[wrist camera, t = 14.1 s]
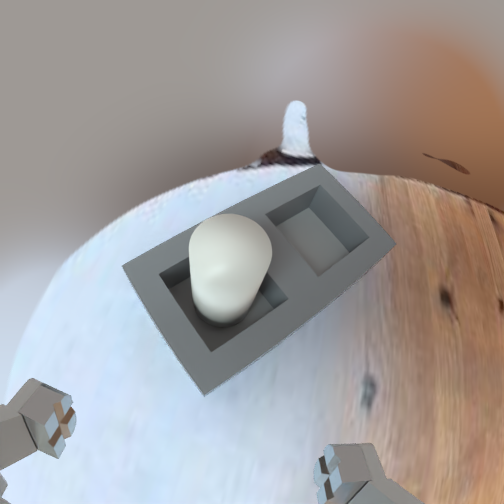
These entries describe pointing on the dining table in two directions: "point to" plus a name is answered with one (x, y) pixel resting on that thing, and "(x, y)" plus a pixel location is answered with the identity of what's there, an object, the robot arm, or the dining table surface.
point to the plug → (227, 267)
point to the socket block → (275, 280)
